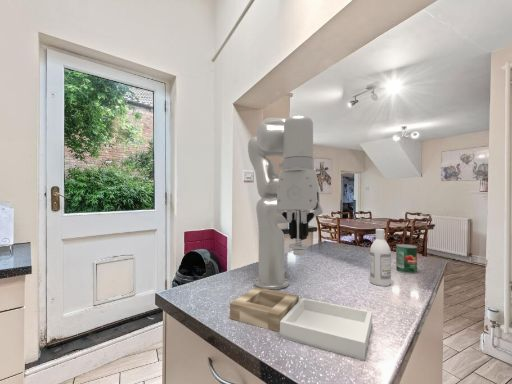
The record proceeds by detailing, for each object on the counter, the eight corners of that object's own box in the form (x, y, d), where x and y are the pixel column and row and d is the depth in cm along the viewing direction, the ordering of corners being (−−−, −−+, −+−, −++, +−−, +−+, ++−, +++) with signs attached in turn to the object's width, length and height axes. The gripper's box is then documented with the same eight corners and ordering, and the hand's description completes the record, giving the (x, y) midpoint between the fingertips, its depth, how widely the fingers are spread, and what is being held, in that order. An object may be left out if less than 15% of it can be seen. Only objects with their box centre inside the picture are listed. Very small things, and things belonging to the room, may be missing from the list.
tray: (302, 310, 74) (302, 297, 74) (371, 325, 65) (371, 311, 65) (279, 337, 60) (279, 321, 60) (364, 361, 51) (364, 342, 51)
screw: (305, 252, 69) (310, 256, 64) (287, 252, 69) (290, 256, 64) (305, 203, 69) (310, 203, 64) (287, 203, 69) (290, 203, 64)
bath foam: (393, 283, 97) (393, 229, 97) (387, 288, 92) (387, 230, 92) (373, 279, 102) (373, 227, 102) (367, 283, 97) (367, 229, 97)
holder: (255, 300, 81) (255, 287, 81) (298, 309, 74) (298, 295, 74) (229, 318, 69) (229, 303, 69) (279, 332, 62) (279, 314, 62)
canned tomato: (399, 267, 118) (399, 243, 119) (419, 271, 113) (419, 245, 113) (393, 271, 113) (393, 245, 113) (414, 275, 107) (414, 248, 107)
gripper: (263, 166, 68) (264, 238, 67) (325, 162, 60) (325, 243, 59) (276, 169, 74) (276, 235, 74) (333, 165, 66) (334, 239, 66)
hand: (298, 238), depth 66 cm, fingers closed on screw, 2 cm apart
